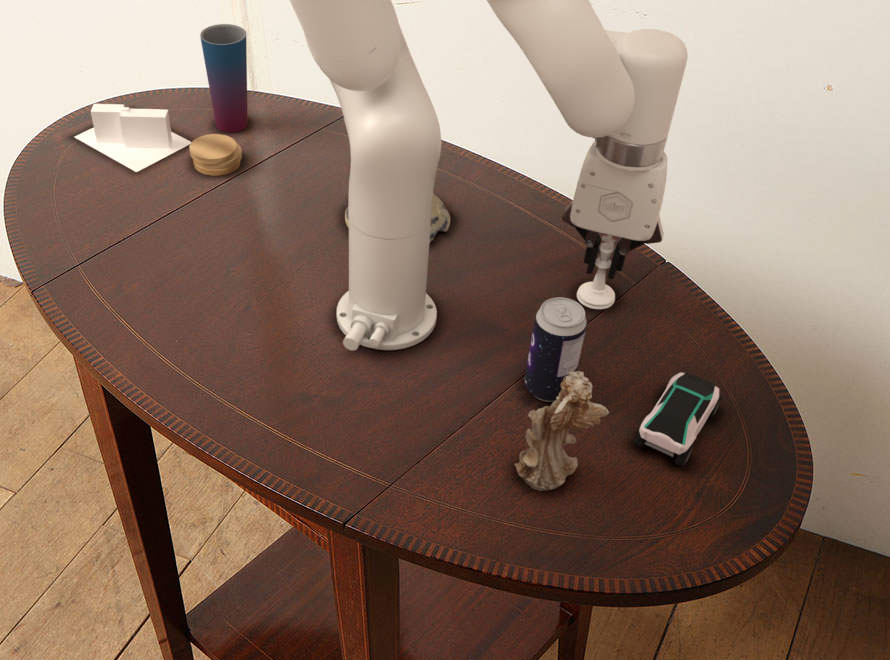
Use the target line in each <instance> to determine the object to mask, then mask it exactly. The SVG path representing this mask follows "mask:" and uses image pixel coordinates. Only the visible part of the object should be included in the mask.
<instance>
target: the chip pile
mask: <svg viewBox="0 0 890 660" xmlns="http://www.w3.org/2000/svg"><path fill="white" fill-rule="evenodd" d="M190 142H191V144H189V145H188V147H189V149H188V150H189V155H190V157H191V158H192V163H193V167H194V169H195V170H196V171H197V172H198V173H200V174H203V175H206V176H211V177H219V176H225V175H229V174H231V173H233V172H235V171H237V169H238V168H239V167H240V165H241V160H242V158H243V151H242V150H243V149H242V147H241V145H240V144H239V143H238V142H237V141H236V140H235V139H234V138H232V137H230V136H229V135H225V134H220V133H209V134H204V135H200V136H199V137H196V138H195V139H193V140H192V141H190Z"/></svg>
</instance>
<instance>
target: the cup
mask: <svg viewBox="0 0 890 660" xmlns="http://www.w3.org/2000/svg"><path fill="white" fill-rule="evenodd" d="M199 37H200V38H199V39H200V43H201V48H202V55H203V60H204V64H205V70H206V71H205V72H206V77H207V83H208V87H209V93H210V98H211V105H212V110H213V115H214V116H213V117H214V122H215V127H216V128H217V129H218V130H219V131H220V132H224V133H229V134H230V133H231V134H232V133H238V132H241V131H244V130H245V129H246V128H247V127H248V124H249V123H248V120H249V119H248V59H247V58H248V56H247V51H248V50H247V48H248V47H247V46H248V45H247V32H246V30H245V28H243V27H241V26H239V25H236V24H231V23H217V24H213V25H210V26H206V27H205V28H204V29H202V30H201V31H200V33H199Z"/></svg>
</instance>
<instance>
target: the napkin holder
mask: <svg viewBox="0 0 890 660" xmlns="http://www.w3.org/2000/svg"><path fill="white" fill-rule="evenodd" d="M90 116H91V120H92V125H93V127H92V128H89V129H87V130H85V131H83V132H81V133H79V134H77V135H75V136H74V138H75V139H76V140H78V141H80V142H82V143H84V144H85V145H87V146H88V147H91V148H92V149H94V150H96V151H97V152H100V153H101V154H103V155H104V156H107V157H108V158H110V159H112V160H114V161H115V162H117V163H119V164H121V165H122V166H125V167H126V168H128V169H130V170H132V171H133V172H134V173H138V172H140V171H141V170H145V169H146V168H148V167H149V166H152V165H153V164H155V163H157V162H159V161H160V160H162V159H164V158H167V157H168V156H170V155H172V154H174V153H176V152H178V151H180V150H182V149H184V148H185V147H188V146H190V144H191V142H192V141H190V140H188V139H187V138H184V137H183V136H181V135H179V134H177V133H175V132H173V131H172V128H171V121H170V113H169V109H161V108H160V109H159V108H158V109H157V108H130V107H129V106H125V104H121V103H119V104H117V103H93V105H92V107H91V109H90Z"/></svg>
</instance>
